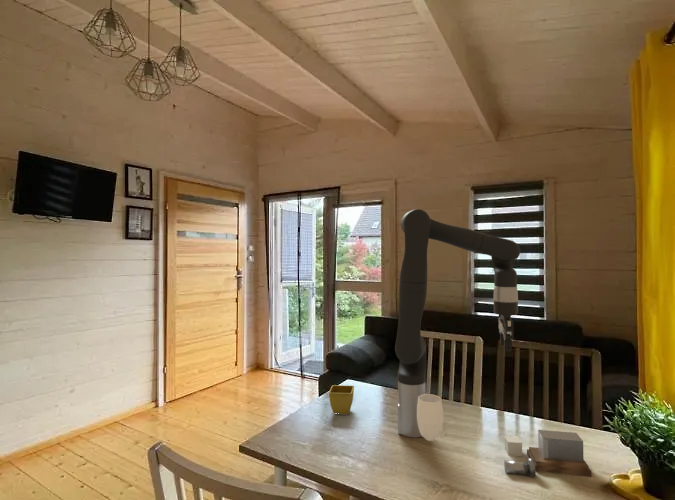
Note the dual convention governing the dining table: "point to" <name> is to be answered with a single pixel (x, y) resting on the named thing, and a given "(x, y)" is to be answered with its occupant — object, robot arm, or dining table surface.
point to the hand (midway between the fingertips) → (505, 347)
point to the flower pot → (341, 398)
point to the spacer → (513, 445)
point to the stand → (557, 465)
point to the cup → (430, 416)
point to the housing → (560, 446)
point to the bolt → (520, 467)
